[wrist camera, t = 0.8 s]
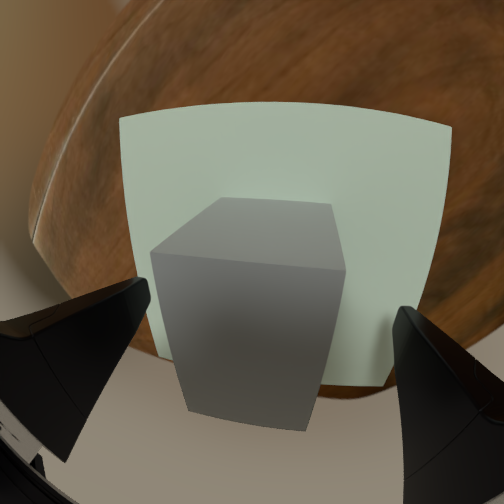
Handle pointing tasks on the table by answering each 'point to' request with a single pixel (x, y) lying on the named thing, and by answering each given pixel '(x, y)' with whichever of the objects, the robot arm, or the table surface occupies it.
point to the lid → (280, 245)
